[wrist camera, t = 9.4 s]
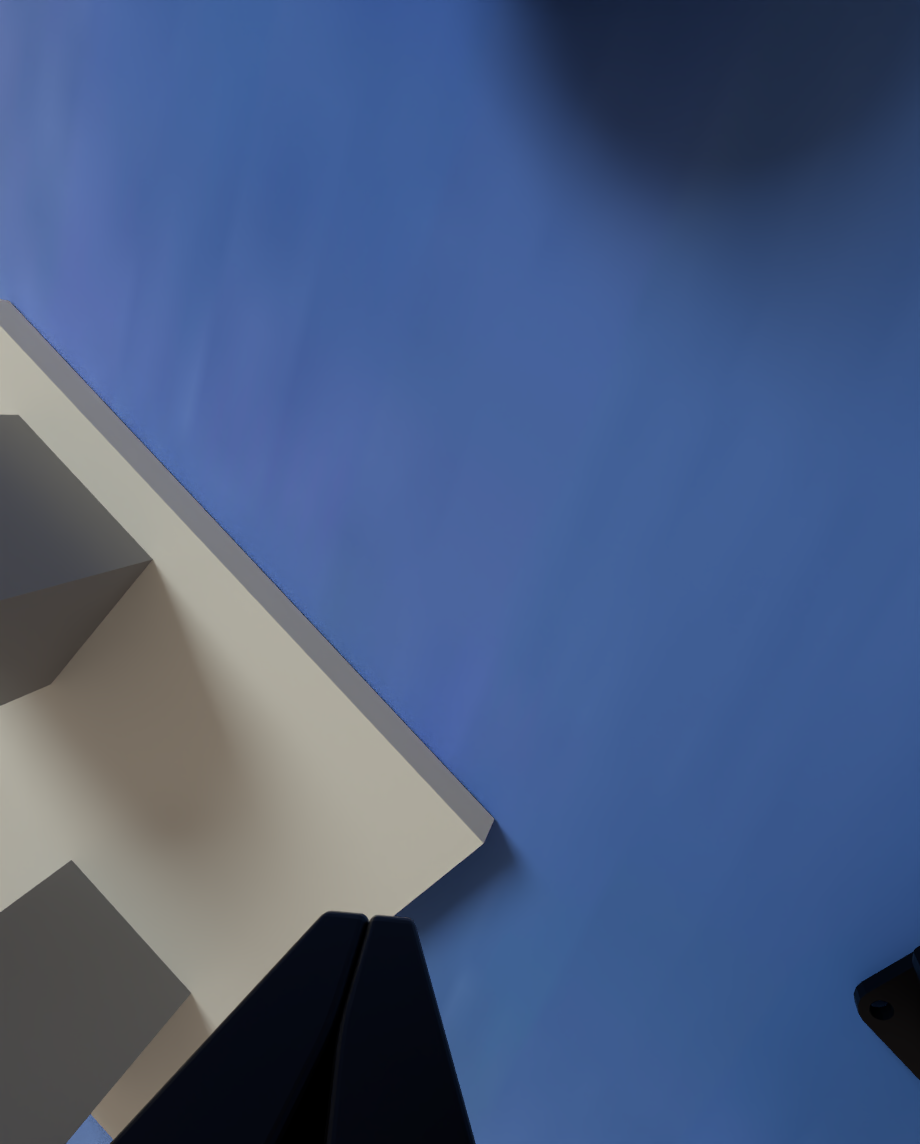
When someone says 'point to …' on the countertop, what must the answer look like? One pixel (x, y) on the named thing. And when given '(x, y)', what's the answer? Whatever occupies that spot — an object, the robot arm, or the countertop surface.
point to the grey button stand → (166, 766)
